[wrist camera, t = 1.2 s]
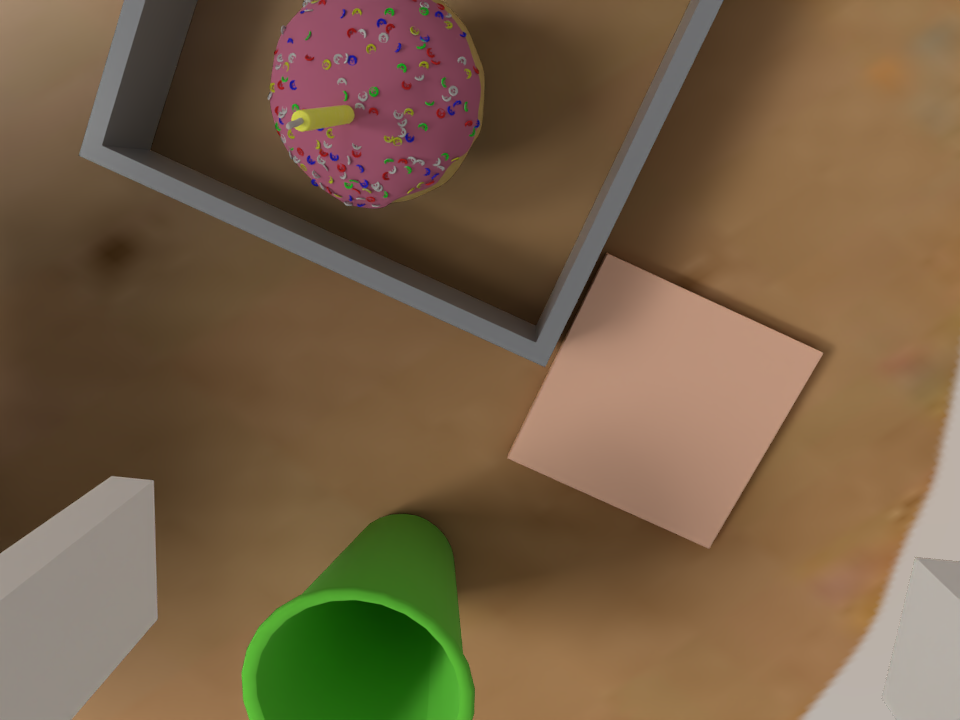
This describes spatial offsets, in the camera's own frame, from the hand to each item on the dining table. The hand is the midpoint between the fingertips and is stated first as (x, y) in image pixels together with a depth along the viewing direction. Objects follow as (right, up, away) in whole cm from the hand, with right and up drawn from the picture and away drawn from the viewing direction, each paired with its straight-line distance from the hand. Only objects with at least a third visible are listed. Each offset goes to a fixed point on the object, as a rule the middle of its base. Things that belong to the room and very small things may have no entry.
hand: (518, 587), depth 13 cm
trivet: (+8, +2, +23) cm, 24 cm away
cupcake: (-4, +16, +21) cm, 26 cm away
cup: (-5, -6, +26) cm, 27 cm away
